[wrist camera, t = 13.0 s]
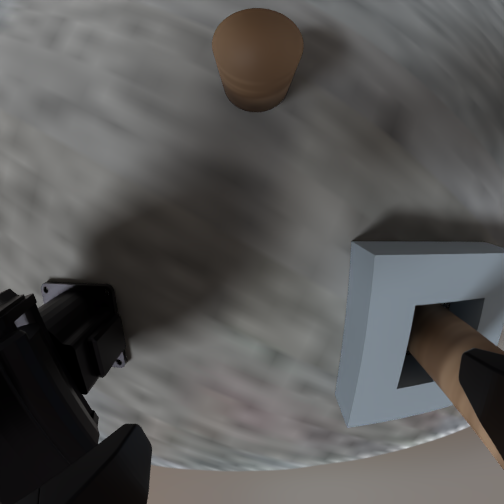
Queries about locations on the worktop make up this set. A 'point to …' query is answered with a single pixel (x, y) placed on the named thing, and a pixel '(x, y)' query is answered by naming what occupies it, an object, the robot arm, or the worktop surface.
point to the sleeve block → (409, 320)
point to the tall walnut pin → (448, 357)
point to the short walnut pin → (257, 57)
